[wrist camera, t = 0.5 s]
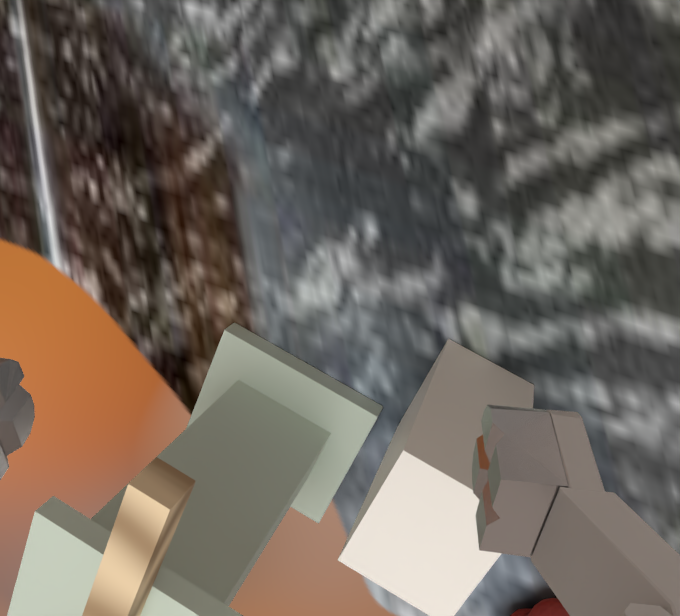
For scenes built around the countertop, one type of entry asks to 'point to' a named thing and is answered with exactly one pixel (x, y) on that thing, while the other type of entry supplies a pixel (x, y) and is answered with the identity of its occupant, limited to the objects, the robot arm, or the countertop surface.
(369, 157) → the countertop surface
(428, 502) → the rest block
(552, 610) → the vegetable
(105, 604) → the bar
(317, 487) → the shelf stand
